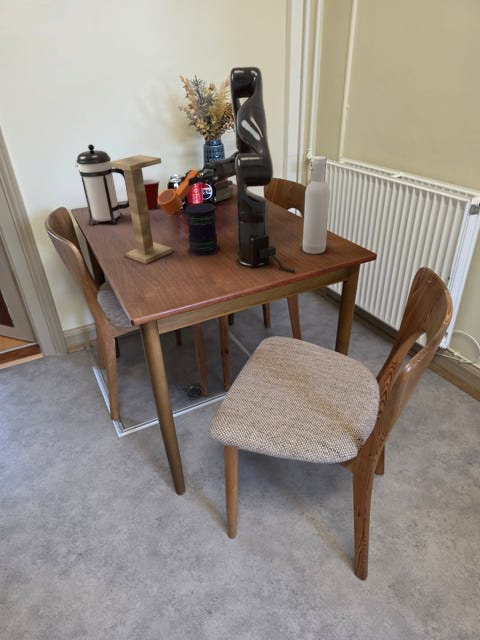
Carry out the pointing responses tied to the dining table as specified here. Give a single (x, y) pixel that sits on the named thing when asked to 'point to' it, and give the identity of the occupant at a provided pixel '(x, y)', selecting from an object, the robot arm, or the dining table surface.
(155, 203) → the plastic cup
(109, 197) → the coffee press
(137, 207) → the plant stand
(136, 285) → the dining table surface
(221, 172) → the robot arm
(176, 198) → the measuring scoop
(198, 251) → the storage jar
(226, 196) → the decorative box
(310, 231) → the bottle
